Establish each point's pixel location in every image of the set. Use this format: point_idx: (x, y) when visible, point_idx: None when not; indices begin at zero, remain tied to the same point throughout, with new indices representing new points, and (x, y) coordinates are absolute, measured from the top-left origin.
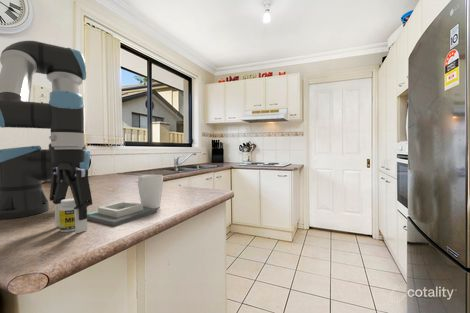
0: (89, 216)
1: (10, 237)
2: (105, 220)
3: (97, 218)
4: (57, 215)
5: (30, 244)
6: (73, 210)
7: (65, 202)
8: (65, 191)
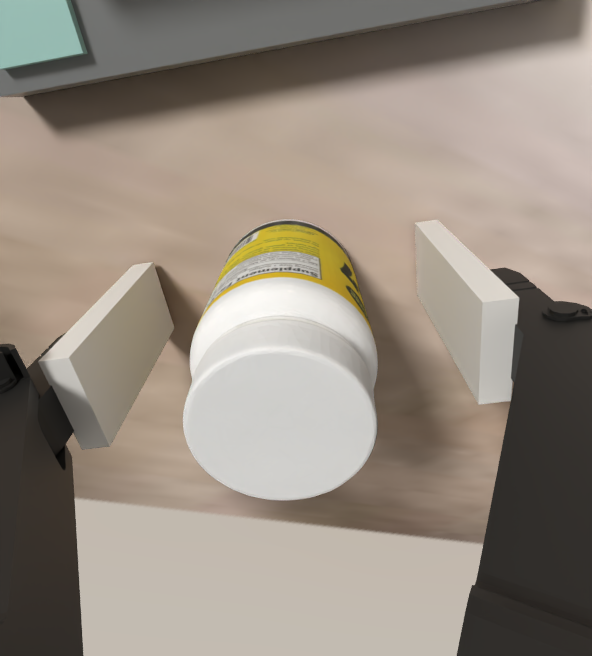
0: (124, 72)
1: (172, 494)
2: (418, 19)
3: (272, 45)
4: (143, 367)
5: (374, 468)
6: (377, 361)
7: (343, 474)
8: (34, 493)
